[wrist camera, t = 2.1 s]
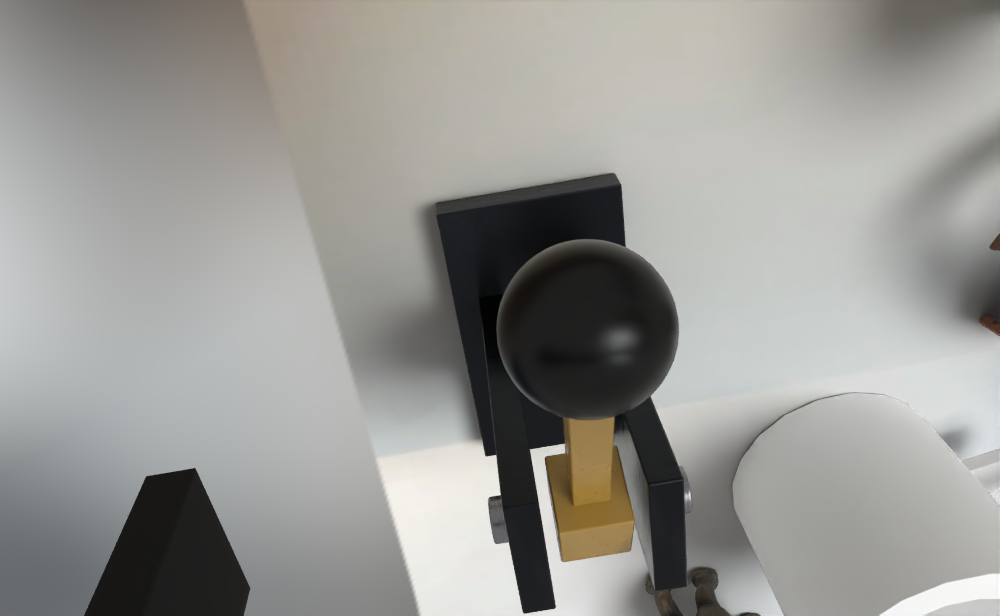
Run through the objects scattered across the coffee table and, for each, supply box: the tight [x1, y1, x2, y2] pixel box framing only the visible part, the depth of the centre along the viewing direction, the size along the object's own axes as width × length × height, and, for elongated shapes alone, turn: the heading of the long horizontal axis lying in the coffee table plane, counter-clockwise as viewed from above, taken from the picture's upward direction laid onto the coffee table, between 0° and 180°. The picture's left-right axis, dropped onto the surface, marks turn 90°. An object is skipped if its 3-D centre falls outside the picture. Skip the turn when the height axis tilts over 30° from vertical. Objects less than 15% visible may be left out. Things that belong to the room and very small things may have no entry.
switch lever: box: [496, 239, 679, 562], centre depth 20 cm, size 13×4×4 cm, turn 9°
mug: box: [732, 393, 1000, 616], centre depth 35 cm, size 14×10×11 cm
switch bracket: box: [436, 174, 692, 613], centre depth 28 cm, size 12×7×13 cm, turn 8°
